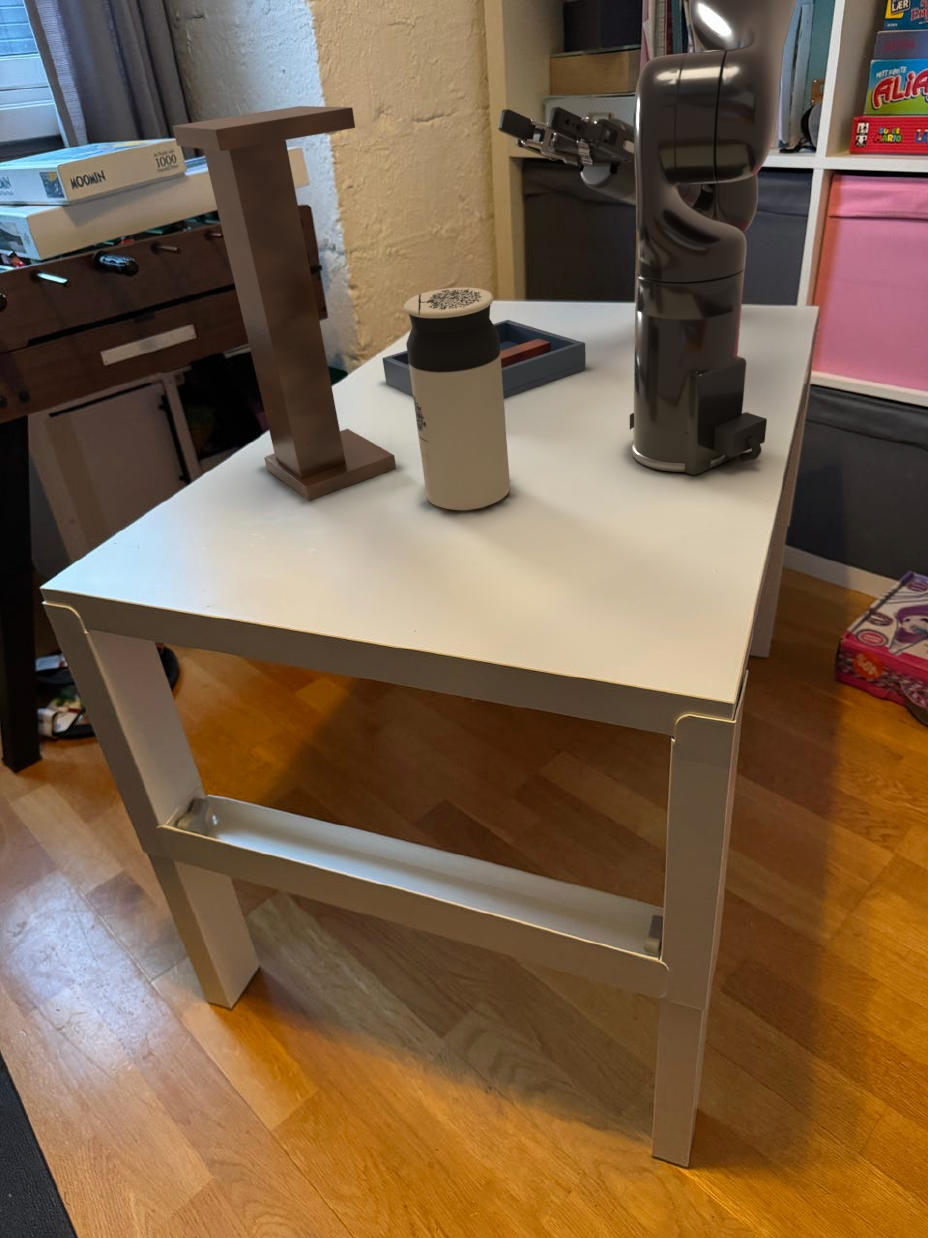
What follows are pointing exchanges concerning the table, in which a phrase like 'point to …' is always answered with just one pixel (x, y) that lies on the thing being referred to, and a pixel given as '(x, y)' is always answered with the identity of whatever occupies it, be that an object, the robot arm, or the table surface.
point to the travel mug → (458, 397)
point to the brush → (524, 352)
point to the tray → (518, 376)
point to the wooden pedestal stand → (282, 293)
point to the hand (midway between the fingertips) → (525, 117)
